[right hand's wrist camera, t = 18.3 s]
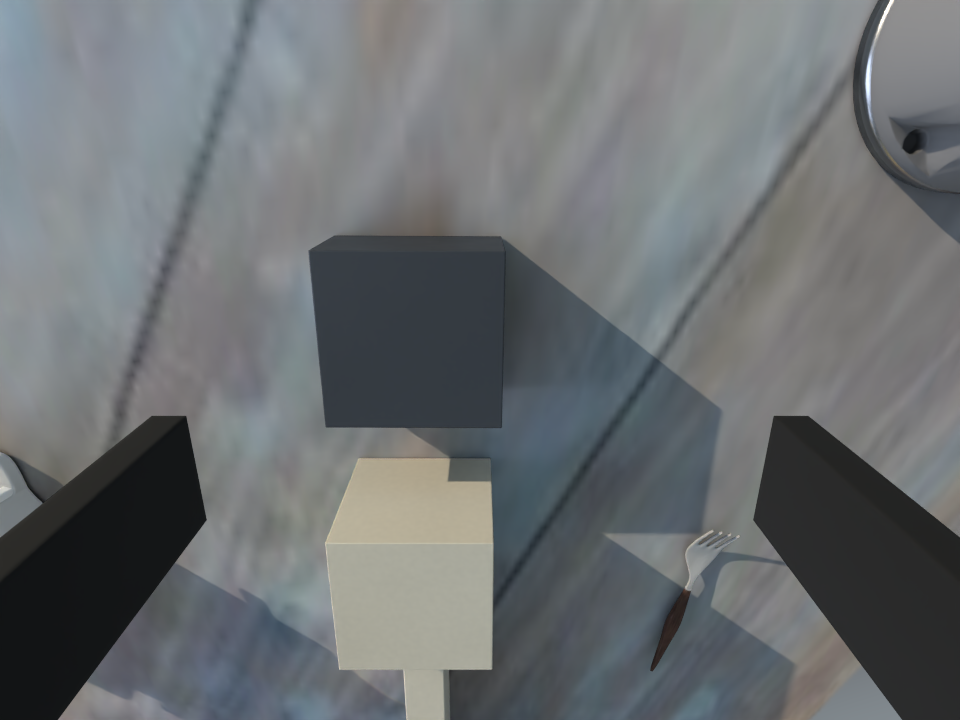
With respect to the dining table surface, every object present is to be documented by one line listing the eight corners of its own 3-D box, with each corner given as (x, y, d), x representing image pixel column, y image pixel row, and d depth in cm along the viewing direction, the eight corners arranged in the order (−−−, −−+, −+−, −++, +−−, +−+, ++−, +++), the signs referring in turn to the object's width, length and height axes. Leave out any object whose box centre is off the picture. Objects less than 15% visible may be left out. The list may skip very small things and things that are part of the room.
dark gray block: (501, 236, 37) (505, 251, 32) (498, 390, 41) (501, 428, 35) (333, 235, 37) (308, 250, 32) (346, 389, 41) (325, 427, 35)
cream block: (490, 458, 43) (493, 543, 34) (487, 768, 55) (489, 896, 45) (358, 457, 43) (324, 543, 33) (384, 768, 55) (364, 896, 45)
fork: (635, 663, 50) (641, 683, 48) (700, 514, 44) (710, 530, 43) (663, 668, 50) (670, 688, 48) (732, 520, 45) (743, 536, 43)
